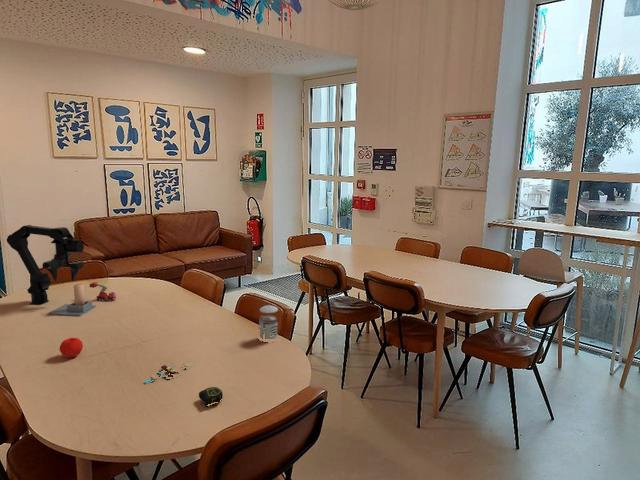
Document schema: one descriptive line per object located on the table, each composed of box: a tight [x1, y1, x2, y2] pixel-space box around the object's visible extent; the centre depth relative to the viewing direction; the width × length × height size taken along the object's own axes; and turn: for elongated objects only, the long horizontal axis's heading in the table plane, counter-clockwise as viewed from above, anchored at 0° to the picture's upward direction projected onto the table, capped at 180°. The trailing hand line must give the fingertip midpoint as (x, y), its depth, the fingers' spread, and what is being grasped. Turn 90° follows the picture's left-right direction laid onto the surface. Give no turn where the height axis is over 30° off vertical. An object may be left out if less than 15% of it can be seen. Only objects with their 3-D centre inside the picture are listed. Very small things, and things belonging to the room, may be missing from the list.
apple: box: [58, 337, 84, 358], centre depth 169 cm, size 8×8×7 cm
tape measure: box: [198, 386, 224, 407], centre depth 141 cm, size 7×7×4 cm
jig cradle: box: [47, 300, 96, 317], centre depth 219 cm, size 16×14×4 cm
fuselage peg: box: [73, 284, 86, 306], centre depth 218 cm, size 4×4×12 cm
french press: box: [258, 284, 279, 339], centre depth 190 cm, size 10×12×25 cm
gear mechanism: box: [143, 362, 190, 384], centre depth 159 cm, size 20×5×9 cm
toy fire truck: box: [89, 281, 117, 302], centre depth 237 cm, size 3×14×10 cm, turn 84°
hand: (64, 280), depth 226 cm, fingers open, 9 cm apart
